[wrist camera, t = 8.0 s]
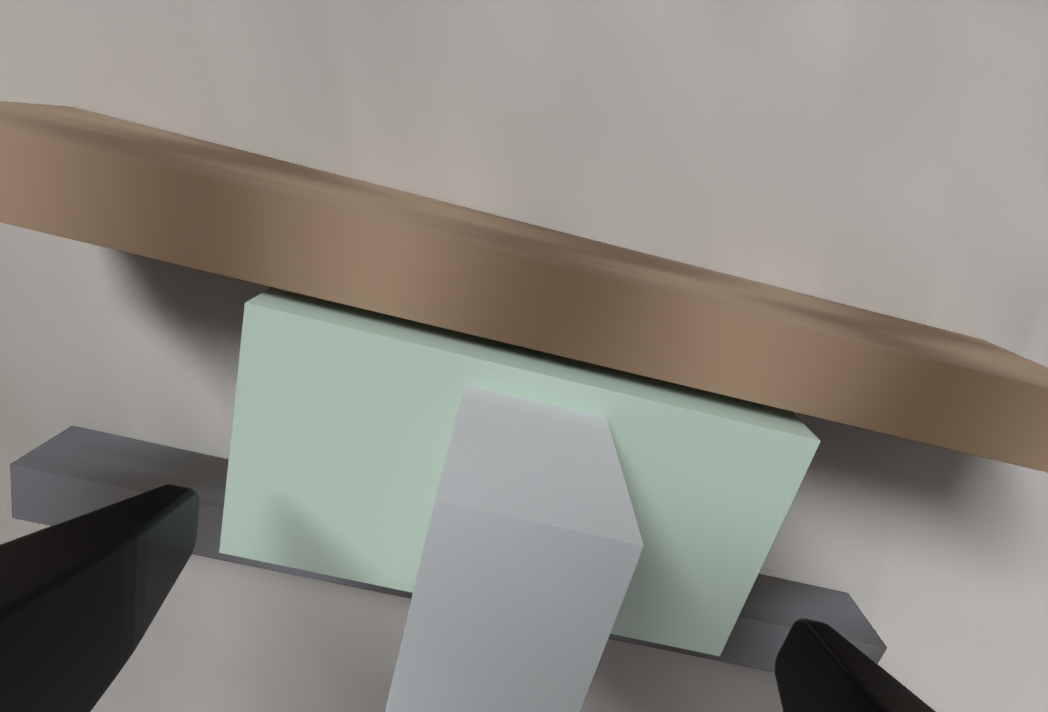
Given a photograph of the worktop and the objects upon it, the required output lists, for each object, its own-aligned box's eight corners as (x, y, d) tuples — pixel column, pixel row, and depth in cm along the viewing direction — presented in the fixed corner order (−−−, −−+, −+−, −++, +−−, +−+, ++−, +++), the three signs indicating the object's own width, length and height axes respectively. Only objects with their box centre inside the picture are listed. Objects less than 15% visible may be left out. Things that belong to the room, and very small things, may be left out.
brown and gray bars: (983, 339, 15) (1163, 417, 11) (827, 632, 18) (920, 783, 14) (72, 107, 13) (-143, 89, 9) (72, 474, 16) (-89, 590, 12)
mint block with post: (729, 349, 15) (956, 577, 7) (665, 512, 17) (792, 848, 9) (336, 250, 14) (98, 385, 6) (309, 432, 16) (91, 721, 8)
